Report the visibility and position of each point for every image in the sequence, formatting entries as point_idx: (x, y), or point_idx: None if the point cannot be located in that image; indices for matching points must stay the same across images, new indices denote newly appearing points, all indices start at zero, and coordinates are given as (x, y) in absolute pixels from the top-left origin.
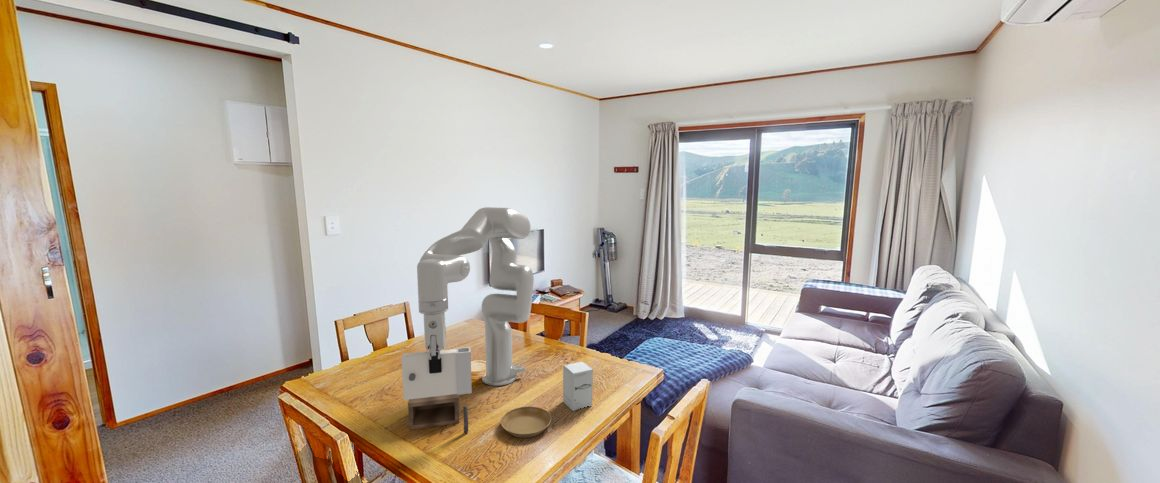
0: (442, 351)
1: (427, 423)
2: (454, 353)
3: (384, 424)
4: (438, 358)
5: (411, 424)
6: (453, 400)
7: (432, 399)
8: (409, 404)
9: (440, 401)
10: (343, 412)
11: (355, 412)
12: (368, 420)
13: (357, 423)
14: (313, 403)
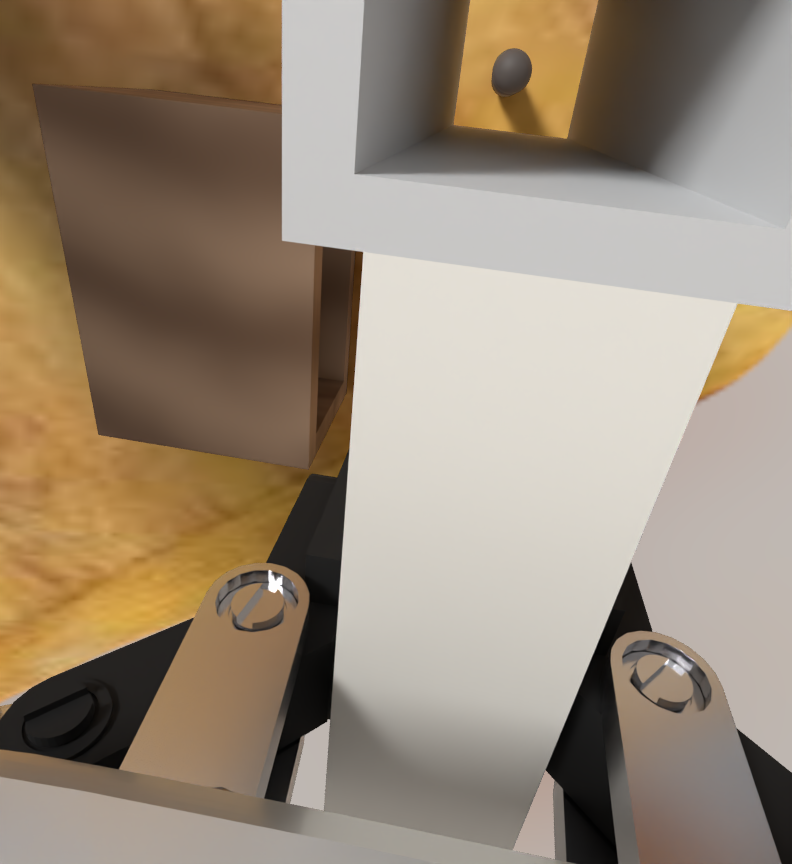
0: (425, 628)
1: (342, 313)
2: (694, 354)
3: (267, 483)
4: (701, 693)
5: (341, 394)
6: None
7: (295, 328)
8: (310, 458)
9: (318, 270)
10: (139, 602)
11: (144, 570)
12: (219, 534)
13: (234, 566)
14: (62, 672)
